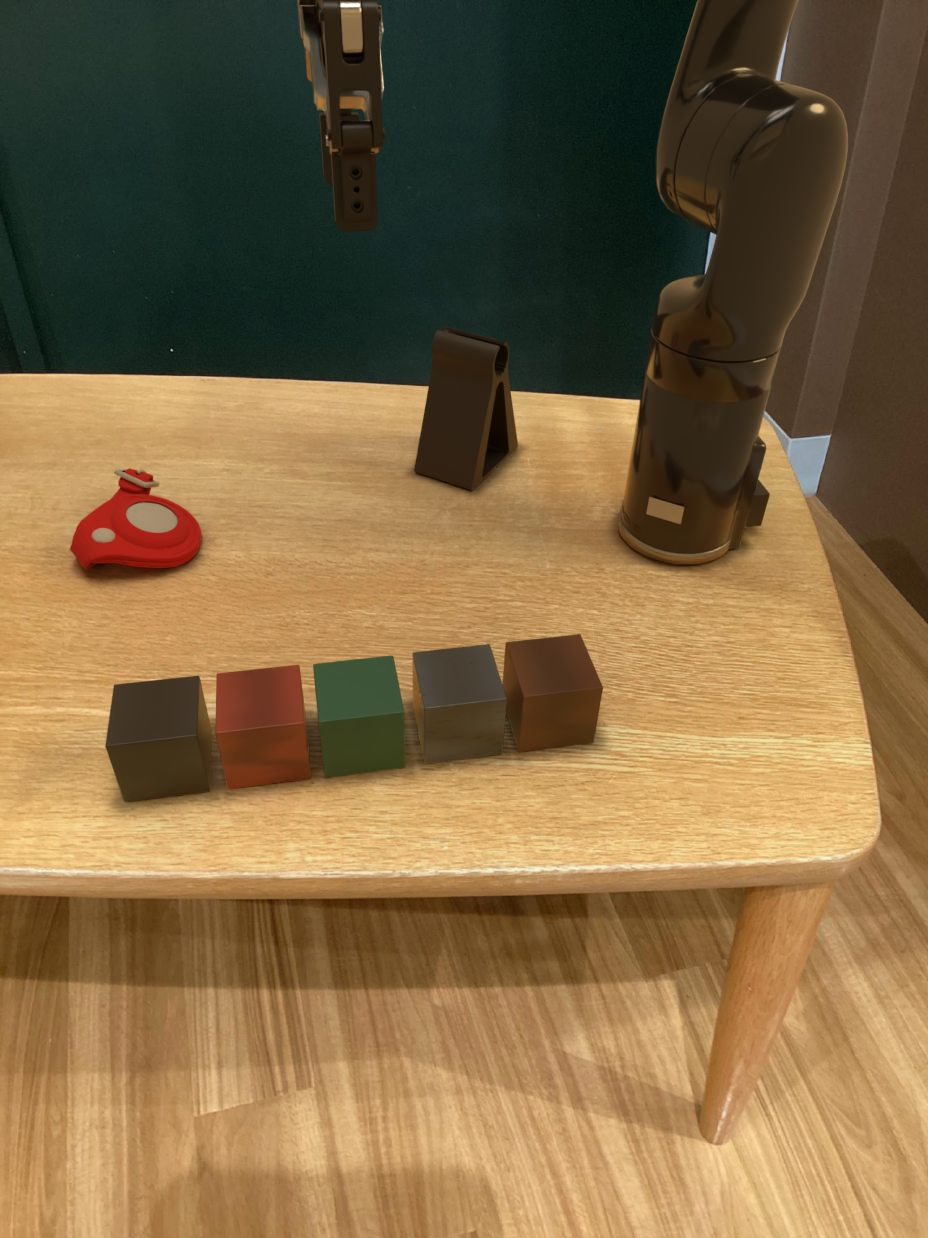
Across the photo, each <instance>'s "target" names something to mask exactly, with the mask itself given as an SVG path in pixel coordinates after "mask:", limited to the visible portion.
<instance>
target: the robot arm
mask: <svg viewBox="0 0 928 1238" xmlns="http://www.w3.org/2000/svg"><path fill="white" fill-rule="evenodd" d="M798 3H799V0H697V1H696V4H695V6H694V11H693V14H692V17H691V21H690V23H689V27H688V30H687V33H686V36H685V40H684V42H683V47H682V50H681V53H680V56H679V59H678V62H677V66H676V70H675V73H674V77H673V79H672V82H671V86H670V89H669V92H668V96H667V99H666V103H665V106H664V110H663V113H662V118H661V122H660V126H659V130H658V134H657V140H656V146H655V152H654V153H655V154H654V180H655V184H656V190H657V193H658V195H659V197H660V200H661V202H662V203H663V205H664V206H665V207H666V209H667V210H669V211H670V212H671V213H672V214H674V215H675V216H677V217H678V218H680V219H681V220H683V221H686V222H687V223H690V224H692V225H694V226H697V227H698V228H701V229H702V230H705V231H707V232H709V233H712V234H714V235H715V239H714V244H713V247H712V251H711V254H710V258H709V262H708V264H707V265H708V266H707V269H706V271H705V273H701V274H694V275H688V276H683V277H680V278H677V279H673V281H670V282H669V283H667V284H666V285H664V287H663V288H661V290H660V292H659V293H658V295H657V298H656V300H655V306H654V311H653V315H652V322H651V329H650V336H649V341H648V347H647V354H646V360H645V368H644V373H643V378H642V385H641V390H640V396H639V402H638V403H639V404H638V409H637V414H636V421H635V427H634V428H635V429H634V432H633V433H634V434H633V439H632V445H631V451H630V457H629V463H628V470H627V476H626V482H625V488H624V494H623V499H622V501H621V502H622V503H621V509H620V511H619V516H618V517H619V518H618V522H617V527H618V532H619V535H620V536H621V538H622V539H623V541H624V542H625V543H626V544H627V545H628V546H629V547H630V548H632V549H633V550H635V551H636V552H637V553H640V554H641V555H643V556H645V557H647V558H650V559H653V560H656V561H658V562H662V563H663V562H664V563H668V564H674V565H699V564H704V563H709V562H712V561H714V560H717V559H718V558H720V557H722V556H723V555H725V554H726V553H727V552H728V551H729V550H733V549H739V548H740V547H741V545H742V540H743V537H744V535H745V534H744V533H745V530H746V528H752V527H761V526H762V524H763V520H764V517H765V513H766V509H767V506H768V503H769V499H770V496H771V493H770V492H769V491H768V489H767V488H766V487H765V485H764V484H763V483H762V481H760V479H759V477H760V474H761V470H762V466H763V463H764V460H765V456H766V452H767V444H766V442H765V441H764V440H763V439H762V438H761V437H760V436H759V434H760V431H761V427H762V424H763V419H764V416H765V411H766V407H767V404H768V400H769V396H770V392H771V388H772V384H773V382H774V381H773V380H774V375H775V374H776V373H775V372H776V368H777V365H778V362H779V357H780V354H781V350H782V346H783V342H784V338H785V335H786V332H787V329H788V327H789V325H790V323H791V321H792V320H793V318H794V316H795V315H796V313H797V312H798V310H799V308H800V307H801V305H802V303H803V301H804V299H805V297H806V295H807V292H808V289H809V287H810V284H811V281H812V278H813V275H814V271H815V268H816V265H817V262H818V258H819V256H820V253H821V249H822V247H823V244H824V241H825V237H826V234H827V231H828V228H829V225H830V223H831V219H832V216H833V213H834V210H835V207H836V204H837V201H838V197H839V194H840V191H841V188H842V184H843V180H844V175H845V171H846V166H847V159H848V152H849V151H848V150H849V132H848V124H847V121H846V118H845V115H844V112H843V110H842V109H841V107H840V106H839V105H838V103H837V102H836V101H835V100H834V99H833V98H831V97H829V96H827V95H826V94H824V93H821V92H818V91H816V90H814V89H813V90H812V89H809V88H806V87H803V86H798V85H796V84H792V83H788V82H784V81H781V80H777V74H778V70H779V65H780V61H781V58H782V54H783V51H784V46H785V43H786V40H787V36H788V33H789V29H790V26H791V23H792V21H793V17H794V14H795V12H796V9H797V6H798ZM297 16H298V17H297V18H298V25H299V34H300V37H301V39H302V44H303V46H304V61H305V69H306V77H307V80H308V81H309V82H310V84H311V86H312V98H313V99H312V100H313V104H315V107H316V111H322V112H318V114H319V115H318V116H319V118H318V119H319V130H320V144H321V147H320V148H321V158H322V159H321V160H322V173H323V179H324V180H325V182H326V183H327V184H328V185H330V186H332V193H333V194H332V195H333V209H334V210H333V211H334V220H335V225H336V228H337V229H338V230H339V231H341V232H344V233H349V232H350V233H351V232H371V231H373V230H375V229H376V228H377V227H378V224H379V211H378V210H379V209H378V208H379V206H378V205H379V203H378V179H377V154H379V153H380V149H383V146H384V141H385V140H386V130H385V127H383V98H384V93H385V82H384V81H385V80H384V71H383V70H384V69H383V62H382V61H383V60H382V50H381V48H382V45H383V38H384V31H385V27H384V18H383V8H382V5H379V4H378V0H297ZM353 110H354V111H355V110H361V111H363V114H364V119H360V114H359V112H358V111H357V112H352V111H353Z"/></svg>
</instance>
